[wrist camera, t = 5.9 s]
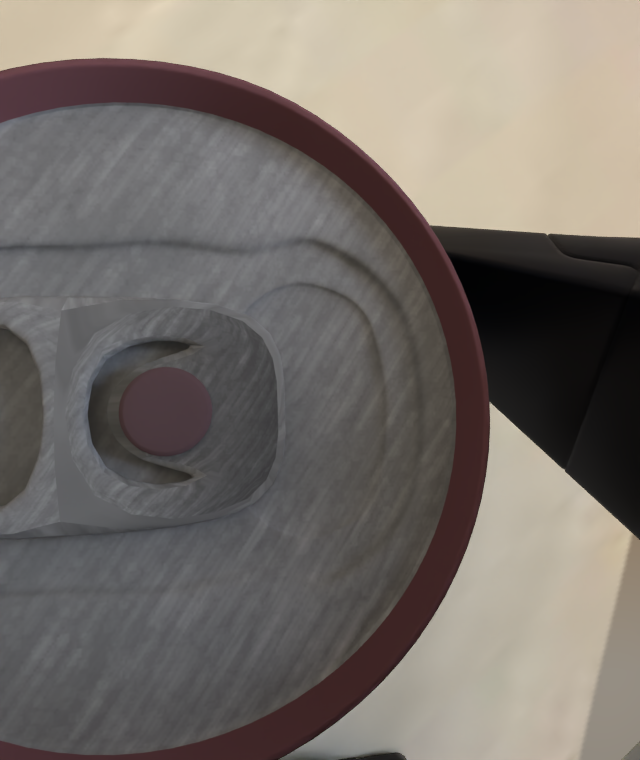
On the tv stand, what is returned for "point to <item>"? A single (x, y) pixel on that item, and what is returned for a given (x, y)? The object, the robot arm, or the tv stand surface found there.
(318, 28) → the tv stand surface
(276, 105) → the soda can
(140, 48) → the tv stand surface
